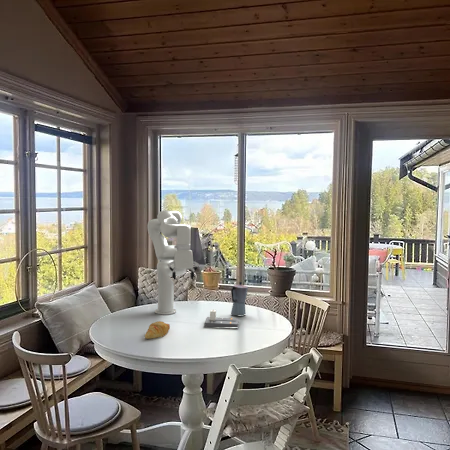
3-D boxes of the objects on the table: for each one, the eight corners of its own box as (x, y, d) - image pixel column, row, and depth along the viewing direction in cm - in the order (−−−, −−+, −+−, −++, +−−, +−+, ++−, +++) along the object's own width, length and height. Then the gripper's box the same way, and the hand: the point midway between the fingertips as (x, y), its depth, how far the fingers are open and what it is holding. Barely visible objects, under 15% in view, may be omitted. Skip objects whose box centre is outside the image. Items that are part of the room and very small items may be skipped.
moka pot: (251, 313, 279) (252, 281, 278) (238, 319, 266) (239, 285, 265) (238, 311, 285) (238, 279, 283) (224, 316, 272) (225, 283, 270)
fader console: (206, 321, 260) (206, 316, 260) (238, 322, 258) (238, 318, 258) (204, 327, 248) (204, 322, 248) (237, 328, 247) (237, 323, 246)
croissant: (150, 348, 222) (157, 335, 220) (135, 336, 225) (141, 323, 223) (172, 335, 241) (179, 323, 239) (158, 324, 244) (164, 312, 242)
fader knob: (210, 321, 256) (210, 309, 255) (215, 321, 255) (216, 309, 255) (209, 323, 252) (210, 311, 251) (215, 323, 251) (215, 311, 251)
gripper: (168, 248, 245) (168, 280, 245) (200, 248, 249) (200, 279, 250) (166, 247, 252) (166, 278, 252) (197, 247, 256) (197, 277, 257)
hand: (183, 279), depth 251 cm, fingers open, 9 cm apart
